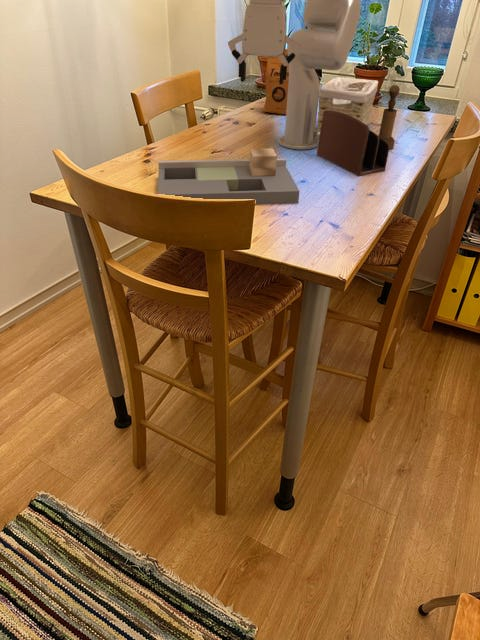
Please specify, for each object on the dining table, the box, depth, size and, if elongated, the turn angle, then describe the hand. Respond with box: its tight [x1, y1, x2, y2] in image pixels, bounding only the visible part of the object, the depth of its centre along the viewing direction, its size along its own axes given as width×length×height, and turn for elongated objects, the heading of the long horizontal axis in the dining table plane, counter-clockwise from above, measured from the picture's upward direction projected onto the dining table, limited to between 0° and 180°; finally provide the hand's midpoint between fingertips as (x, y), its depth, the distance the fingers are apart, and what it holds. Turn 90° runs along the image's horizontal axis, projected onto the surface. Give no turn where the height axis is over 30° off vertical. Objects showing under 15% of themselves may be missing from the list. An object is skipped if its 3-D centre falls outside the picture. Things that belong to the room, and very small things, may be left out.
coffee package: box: [263, 48, 289, 116], centre depth 174 cm, size 10×12×22 cm
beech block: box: [249, 147, 278, 176], centre depth 120 cm, size 6×6×5 cm
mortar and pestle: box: [377, 84, 401, 150], centre depth 144 cm, size 7×6×18 cm
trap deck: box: [156, 157, 300, 205], centre depth 118 cm, size 34×19×4 cm, turn 97°
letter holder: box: [316, 110, 390, 177], centre depth 133 cm, size 10×20×14 cm, turn 29°
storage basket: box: [316, 76, 379, 131], centre depth 160 cm, size 24×16×15 cm
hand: (262, 82), depth 115 cm, fingers open, 9 cm apart
